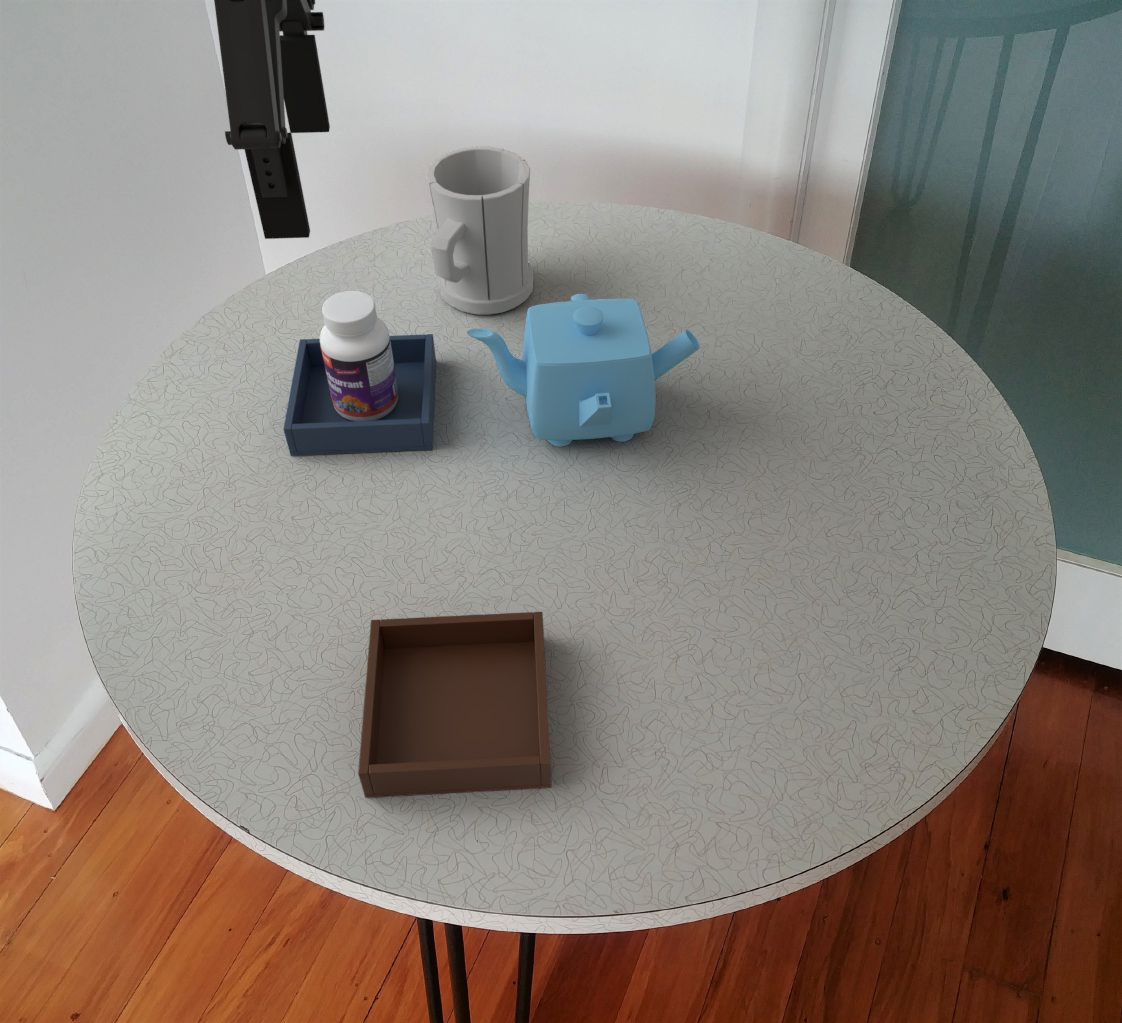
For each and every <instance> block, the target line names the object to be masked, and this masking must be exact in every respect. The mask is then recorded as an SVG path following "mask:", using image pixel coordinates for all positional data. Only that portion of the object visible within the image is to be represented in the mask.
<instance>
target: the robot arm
mask: <svg viewBox="0 0 1122 1023" xmlns="http://www.w3.org/2000/svg"><path fill="white" fill-rule="evenodd" d="M213 2H214V9H215V18H216V25H217V26H216V27H217V34H218V42H219V49H220V50H219V51H220V57H221V58H220V59H221V66H222V74H223V83H224V91H225V98H226V106H227V114H228V123H229V130H226V131H225V130H224V135H225V136H224V137H225V140H226V143H227V146H232V148H234V150H235V151H236V150H238V151H239V150H244V154H245V158H246V163H247V167H248V171H249V176H250V178H251V179H250V180H251V185H252V188H253V192H254V196H255V201H256V207H257V210H258V214H259V220H260V223H261V228H262V233H263V236H264V239H265V240H272V239H273V240H275V239H278V240H279V239H307V238H308V239H309V238H310V234H311V228H310V222H309V217H308V213H307V207H306V201H305V196H304V192H303V186H302V181H301V175H300V170H299V165H298V161H297V160H298V159H297V155H296V149H295V145H294V140H293V135H292V134H310V133H311V134H312V133H314V134H315V133H330V128H331V125H330V120H329V119H330V118H329V113H328V107H327V102H326V95H325V89H324V83H323V77H322V71H321V70H322V69H321V64H320V60H319V53H318V48H317V47H318V46H317V39H316V34H308V32H318V31H319V32H321V31H323V32H324V31H325V16H324V12H323V11H315V10H314V9H315V5H316V0H213ZM280 33H282V34H280ZM285 112H286V113H285ZM286 117H287V123H288V129H289V132H288V130H287V127H286Z"/></svg>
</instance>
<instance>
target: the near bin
mask: <svg viewBox="0 0 1122 1023" xmlns="http://www.w3.org/2000/svg"><path fill="white" fill-rule="evenodd" d="M544 631H545V630H544V615H543V611H526V612H509V613H508V612H504V613H485V614H484V613H483V614H464V615H462V614H461V615H443V616H423V617H405V618H403V617H401V618H383V619H382V618H381V619H371V620H370V629H369V641H368V651H367V664H366V676H365V686H364V698H363V699H364V700H363V702H364V703H363V712H362V723H361V724H362V725H361V735H360V736H361V737H360V746H359V747H360V748H359V758H358V759H359V760H358V769H357V770H358V772H357V775H358V778H359V782H360V784H361V787H362V791H363V795H364V798H365V799H367V798H387V797H388V798H389V797H403V796H421V795H443V794H460V793H463V794H464V793H479V792H498V791H516V790H534V789H551V788H552V770H551V769H552V764H551V763H552V762H551V745H550V742H551V741H550V724H549V709H548V707H549V706H548V705H549V704H548V688H547V671H546V670H547V669H546V652H545V651H546V649H545V636H544V635H545V634H544V633H545V632H544Z"/></svg>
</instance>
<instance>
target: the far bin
mask: <svg viewBox="0 0 1122 1023" xmlns="http://www.w3.org/2000/svg"><path fill="white" fill-rule="evenodd" d="M389 336H390V342H391V349H392V355H393V361H394V368H395V375H396V382H397V388H398V402H397V404H396V406H395V408H394V409H393V410H392V411H391V412H390V413H389V414H388V415H386V416H384V417H383V418H380V419H378V420H375V421H351V420H348V419H345V418H344V417H342V416H341V415H339V414H338V413H337V411H336V410H335V408H334V406H333V402H332V398H331V393H330V388H329V384H328V379H327V374H326V370H325V365H324V360H323V355H322V350H321V346H320V338H303V339H299V342H298V348H297V353H296V358H295V364H294V369H293V376H292V379H291V380H292V381H291V386H290V391H289V397H288V402H287V407H286V414H285V419H284V424H283V433H284V436H285V440H286V443H287V448H288V451H289V455H290V457H301V456H303V457H304V456H324V455H325V456H326V455H345V454H347V455H348V454H349V455H350V454H368V453H369V454H370V453H392V452H394V453H395V452H414V451H415V452H416V451H417V452H418V451H433V448H434V446H433V445H434V424H435V421H434V420H435V400H436V399H435V398H436V397H435V396H436V375H437V374H436V372H437V356H436V349H435V348H436V347H435V340H434V339H435V338H434V334H433V333H425V334H424V333H423V334H400V335H399V334H398V335H389Z"/></svg>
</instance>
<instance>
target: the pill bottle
mask: <svg viewBox="0 0 1122 1023" xmlns="http://www.w3.org/2000/svg"><path fill="white" fill-rule="evenodd" d="M321 311H322V317H323V323H324V325H323V327H322V329H321V330H320V333H319V339H320V346H321V350H322V355H323V360H324V365H325V370H326V374H327V379H328V384H329V388H330V393H331V398H332V402H333V406H334V408H335V410H336V411H337V413H338V414H339V415H341V416H342V417H344V418H345V419H348V420H351V421H375V420H378V419H380V418H383V417H384V416H386V415H388V414H389V413H390V412H391V411H392V410H393V409H394V408H395V406H396V404H397V402H398V388H397V382H396V375H395V368H394V361H393V355H392V349H391V342H390V336H391V335H390V332H389V328H388V326H387V324H386V322H384V320H382V318H380V317H378V315H377V314H378V313H377V309H376V302H375V300H374V298H373V297H372V296H371V295H369V294H368V293H365V292H363V291H359V290H345V291H340V292H337V293H334V294H332V295H331V296H329V297H328V298H326V300H325V301H324V302H323V304H322V308H321Z"/></svg>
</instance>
